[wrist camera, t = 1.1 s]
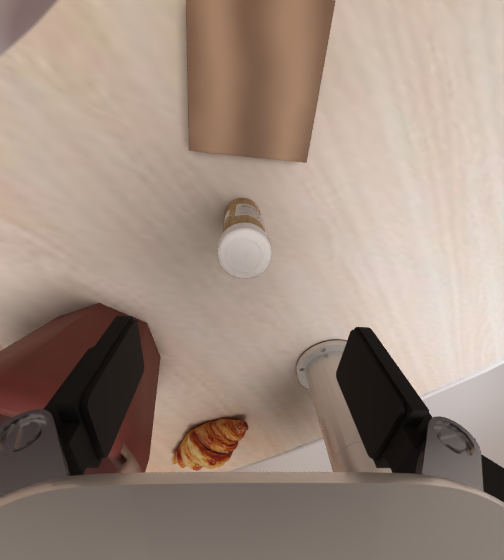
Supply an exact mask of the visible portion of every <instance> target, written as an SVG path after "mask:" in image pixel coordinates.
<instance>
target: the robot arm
mask: <svg viewBox="0 0 504 560" xmlns="http://www.w3.org/2000/svg"><path fill="white" fill-rule="evenodd" d="M143 373H144V359H143V353H142V346H141V340H140V333H139V327H138V321H137V320H134V319H133V317H132V316H119V315H118V316H116V317H115V318H114V320H113V321H112V322H111V324H110V325H109V327H108V328H107V329H106V331H105V332H104V334H103V335H102V336H101V338H100V339H99V340H98V342H97V343H96V345H95V346H94V347H91V348H89V349H88V350H87V351H86V353H85V354H84V355H83V357H82V358H81V359H80V361H79V362H78V363H77V365H76V366H75V367H74V369H73V370H72V371H71V373H70V374H69V375H68V377H67V378H66V379H65V381H64V382H63V383H62V385H61V386H60V388H59V389H58V390H57V392H56V393H55V394H54V396H53V397H52V398H51V400H50V401H49V402H48V404H47V405H46V406H45V408H44V409H34V410H29V411H26V412H23V413H20V414H18V415H16V416H15V417H13V418H11V419H9V420H8V421H7V422H5V423H4V424H3V425H1V426H0V560H504V468H502V467H501V466H499V465H498V464H496V463H494V462H493V461H491V460H489V459H488V458H486V457H485V456H483V455H481V451H480V447H479V445H478V443H477V442H476V440H475V439H474V438H473V436H472V435H471V434H470V433H469V432H468V431H467V430H466V429H465V428H463V427H462V426H461V425H459V424H458V423H456V422H454V421H452V420H450V419H448V418H444V417H433V418H432V416H431V415H430V413H429V410H428V408H427V407H426V405H425V404H424V403H423V401H422V400H421V398H420V397H419V396H418V394H417V393H416V391H415V390H414V388H413V387H412V386H411V384H410V383H409V381H408V380H407V379H406V377H405V376H404V374H403V373H402V372H401V370H400V369H399V367H398V366H397V365H396V363H395V362H394V360H393V359H392V358H391V356H390V355H389V353H388V352H387V350H386V349H385V348H384V346H383V345H382V343H381V342H380V341H379V339H378V338H377V336H376V335H375V334H374V332H373V331H372V329H371V328H366V327H356V328H355V329H354V330H352V331H351V332H350V335H349V337H348V340H347V341H342V340H333V341H327V342H322V343H320V344H317V345H315V346H313V347H311V348H310V349H308V350H307V351H306V352H305V353H304V354H303V355H302V356H301V357H300V359H299V361H298V363H297V366H296V373H297V377H298V380H299V382H300V383H301V385H302V386H303V387H305V388H306V389H308V390H310V392H311V396H312V399H313V403H314V406H315V410H316V413H317V417H318V420H319V424H320V427H321V431H322V434H323V438H324V441H325V445H326V448H327V452H328V455H329V459H330V462H331V466H332V470H333V472H146V473H106V474H89V475H84V473H85V470H86V468H99V465H100V463H101V461H102V459H103V458H106V457H107V456H108V455H109V453H110V451H111V449H112V446H113V444H114V442H115V439H116V437H117V434H118V432H119V430H120V427H121V425H122V423H123V420H124V418H125V416H126V413H127V411H128V408H129V406H130V404H131V401H132V399H133V397H134V394H135V392H136V390H137V387H138V385H139V382H140V380H141V378H142V375H143Z"/></svg>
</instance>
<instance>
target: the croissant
mask: <svg viewBox="0 0 504 560" xmlns="http://www.w3.org/2000/svg"><path fill="white" fill-rule="evenodd" d="M247 430H248V425H247V423H246V422H245V421H242V420H230V419H219V420H217V421H213V422H211V421H210V422H207V423H205V424H203V425H201V426H198V427H197V428H194V429H192V430H191V431H190V432H188V433H187V434H186V436H185V437H184V439H183V441H182V443H181V444H180V445H179V447H178V448H177V450H176V451H175V453H174V454H173V457H172V464H177V465H178V466H180V467H182V468H184V467H186V466H187V467H190V468H191V469H193V470H199V469H201V468H202V467H205V468H207V469H212V468H216V467H220V466H222V465H223V464H224V463H225V462H227V461H228V460H229V459H230V457H231V455H232V452H233V450H234V449H235V448H236V447H237V445H238V441H239V440H241V439H242V438H243V436H244V434H245V432H246V431H247Z"/></svg>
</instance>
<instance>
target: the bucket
mask: <svg viewBox="0 0 504 560" xmlns="http://www.w3.org/2000/svg"><path fill="white" fill-rule="evenodd" d="M118 315H119V316H129V315H126V314H124V313H122V312H119V311H117V310H115V309H112V308H110V307H107V306H105V305H103V304H100V303H98V304H95V305H92V306H89V307H86V308H84V309H81V310H78V311H75V312H72V313H69V314H66V315H63V316H60V317H57V318H56V319H54V320H52V321H51V322H49V323H47V324H45V325H44V326H42V327H40V328H39V329H37V330H35V331H34V332H32V333H30V334H29V335H27V336H25V337H24V338H22V339H20V340H18V341H17V342H15V343H13V344H12V345H10V346H8V347H7V348H5V349H3V350H2V351H0V426H1V425H3V424H4V423H5V422H7V421H8V420H9V419H11V418H13V417H15V416H16V415H18V414H20V413H23V412H26V411H29V410H34V409H44V408H45V406H46V405H47V404H48V402H49V401H50V400H51V398H52V397H53V396H54V394H55V393H56V392H57V390H58V389H59V388H60V386H61V385H62V383H63V382H64V381H65V379H66V378H67V377H68V375H69V374H70V373H71V371H72V370H73V369H74V367H75V366H76V365H77V363H78V362H79V361H80V359H81V358H82V357H83V355H84V354H85V353H86V351H87V350H88V349H89V348H91V347H94V346H95V345H96V343H97V342H98V340H99V339H100V338H101V336H102V335H103V334H104V332H105V331H106V329H107V328H108V327H109V325H110V324H111V322H112V321H113V320H114V318H115V317H116V316H118ZM133 319H134V320H137V321H138V327H139V333H140V340H141V346H142V353H143V359H144V373H143V375H142V378H141V380H140V382H139V385H138V387H137V390H136V392H135V394H134V397H133V399H132V401H131V404H130V406H129V408H128V411H127V413H126V416H125V418H124V420H123V423H122V425H121V427H120V430H119V432H118V434H117V437H116V439H115V442H114V444H113V446H112V449H111V451H110V453H109V455H108V456H107V457H106V458H103V459H102V461H101V463H100V465H99V468H86V470H85V473H84V475H89V474H106V473H145V471H146V467H147V464H148V461H149V455H150V446H151V437H152V428H153V419H154V410H155V401H156V392H157V383H158V374H159V365H160V355H159V352H158V350H157V347H156V345H155V342H154V340H153V337H152V334H151V332H150V329H149V327H148V324H147V323H145V322H143V321H141V320H138V319H136V318H134V317H133Z"/></svg>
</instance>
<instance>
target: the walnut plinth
mask: <svg viewBox="0 0 504 560" xmlns="http://www.w3.org/2000/svg"><path fill="white" fill-rule="evenodd" d="M334 6H335V0H186V23H187V71H188V118H189V151H199V152H209V153H218V154H228V155H237V156H247V157H257V158H266V159H276V160H285V161H295V162H305V163H306V162H307V157H308V151H309V145H310V140H311V134H312V129H313V123H314V117H315V112H316V106H317V101H318V95H319V90H320V84H321V78H322V73H323V67H324V62H325V56H326V50H327V45H328V39H329V34H330V28H331V22H332V17H333V11H334Z"/></svg>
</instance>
